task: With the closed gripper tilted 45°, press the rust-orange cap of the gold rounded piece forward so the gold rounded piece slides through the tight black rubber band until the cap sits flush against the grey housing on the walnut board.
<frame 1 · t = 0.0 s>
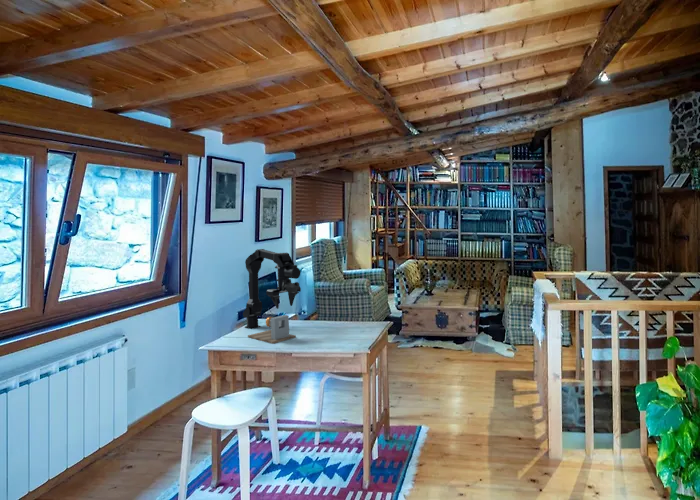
hand: (284, 307, 258), 14 cm above the table, tool pointing down, fingers open, 9 cm apart
walnut board: (280, 339, 250), on the table
gold rounded piece: (274, 322, 252), point 8 cm above the table, slide at -5.0 cm
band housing: (279, 327, 249), on the walnut board, point 6 cm above the table
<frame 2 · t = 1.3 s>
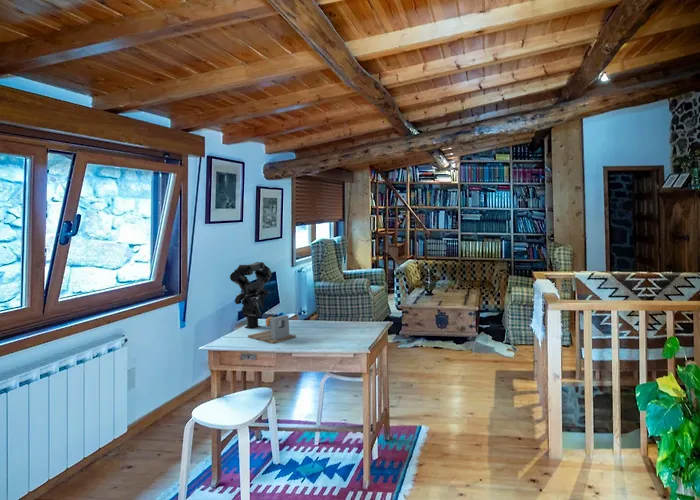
hand: (259, 308, 260), 14 cm above the table, tool tilted 45°, fingers open, 5 cm apart
nothing on the table moved.
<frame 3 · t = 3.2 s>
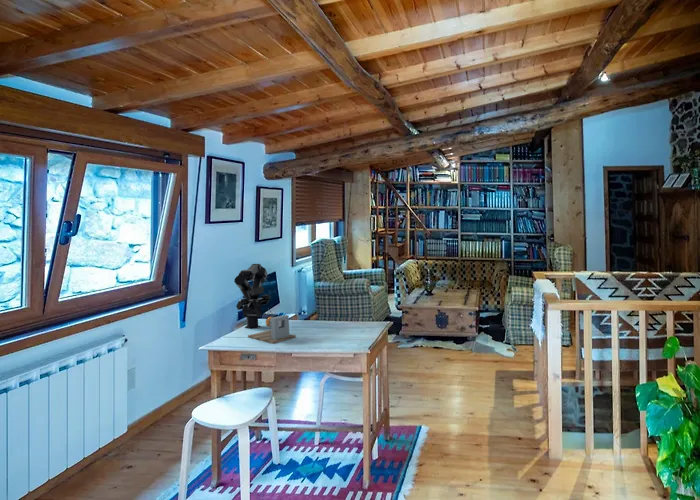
hand: (261, 314, 258), 11 cm above the table, tool tilted 45°, fingers closed
nothing on the table moved.
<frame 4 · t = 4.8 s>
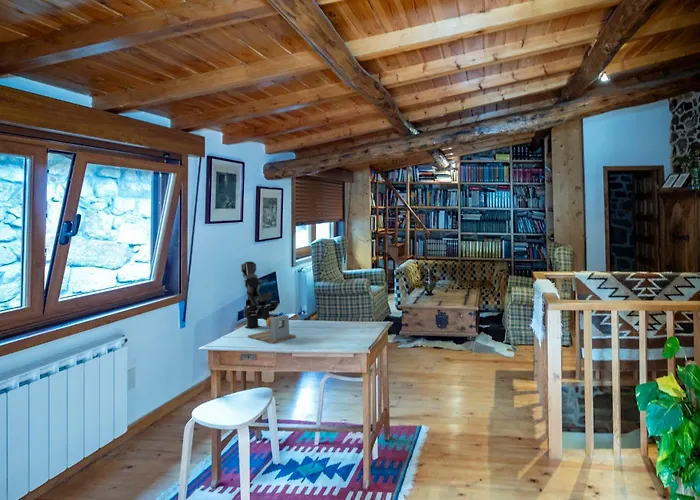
hand: (269, 321, 254), 8 cm above the table, tool tilted 45°, fingers closed, pressing on gold rounded piece
gold rounded piece: (275, 322, 251), point 8 cm above the table, slide at -4.8 cm, touching gripper
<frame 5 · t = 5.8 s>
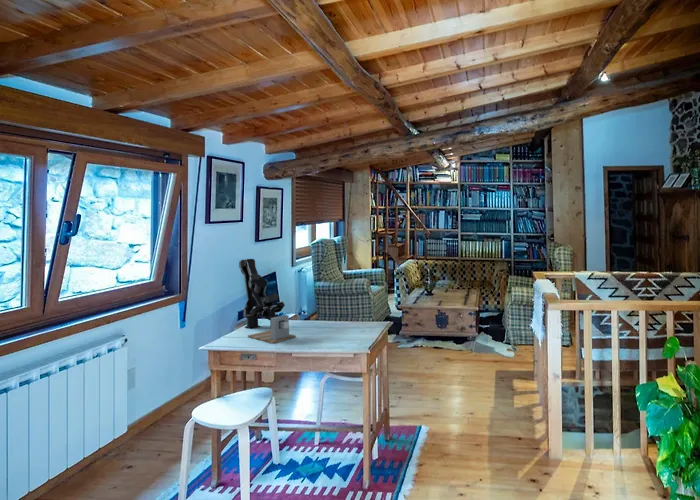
hand: (275, 322, 251), 8 cm above the table, tool tilted 45°, fingers closed, pressing on gold rounded piece
gold rounded piece: (281, 324, 248), point 8 cm above the table, slide at 0.1 cm, touching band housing, gripper
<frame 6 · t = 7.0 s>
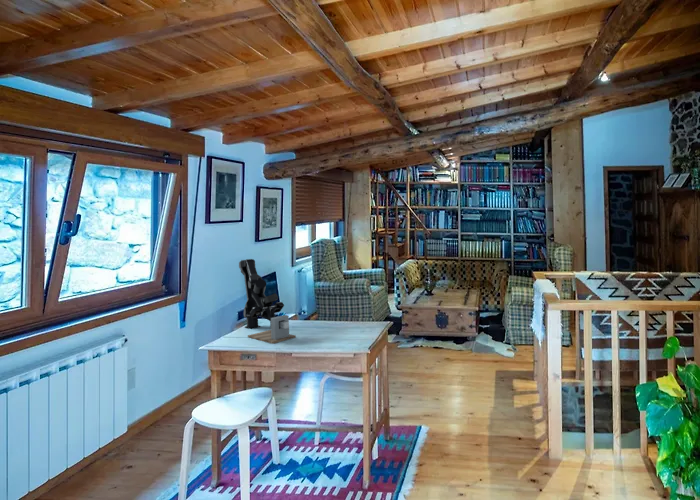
hand: (274, 322, 252), 8 cm above the table, tool tilted 45°, fingers closed
gold rounded piece: (281, 324, 248), point 8 cm above the table, slide at 0.1 cm, touching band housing
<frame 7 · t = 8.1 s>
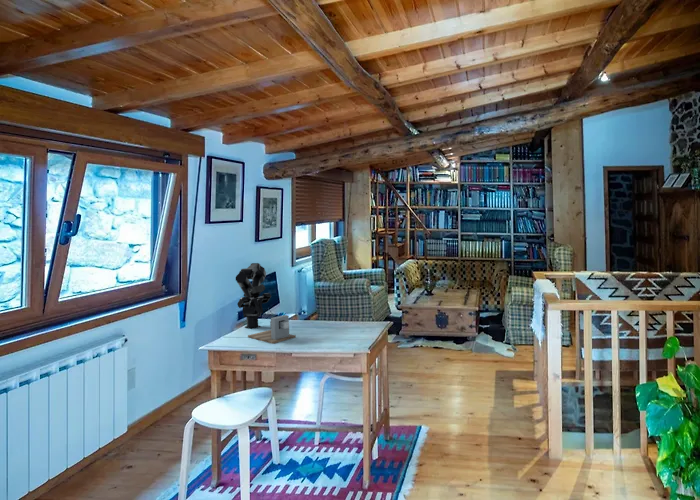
hand: (262, 312, 258), 12 cm above the table, tool tilted 45°, fingers closed
nothing on the table moved.
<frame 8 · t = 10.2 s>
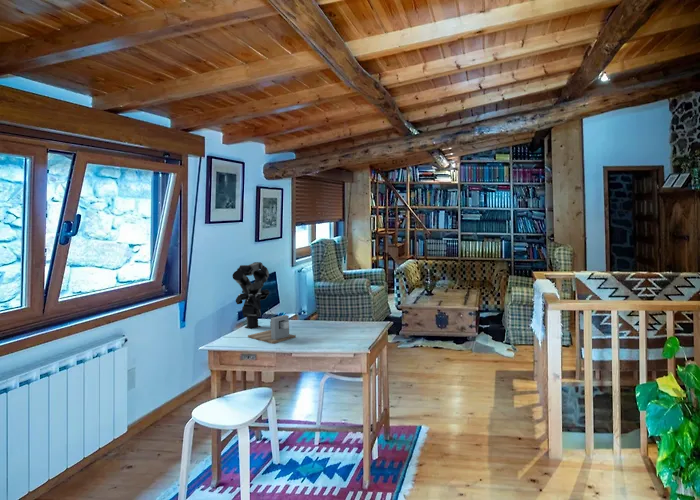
hand: (260, 309, 259), 14 cm above the table, tool tilted 45°, fingers closed
nothing on the table moved.
at the end: gold rounded piece slide at 0.1 cm; gold rounded piece 0.1 cm from the target spot, resting on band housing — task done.
